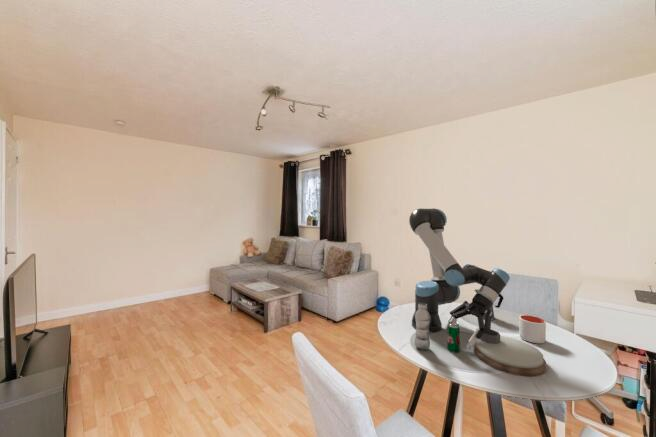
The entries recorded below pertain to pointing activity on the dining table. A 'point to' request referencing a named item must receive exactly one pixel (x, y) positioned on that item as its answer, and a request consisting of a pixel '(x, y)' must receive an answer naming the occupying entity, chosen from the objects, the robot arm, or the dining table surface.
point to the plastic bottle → (422, 327)
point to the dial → (509, 351)
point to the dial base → (511, 369)
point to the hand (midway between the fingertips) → (458, 336)
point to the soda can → (453, 337)
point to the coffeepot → (492, 305)
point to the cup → (532, 329)
